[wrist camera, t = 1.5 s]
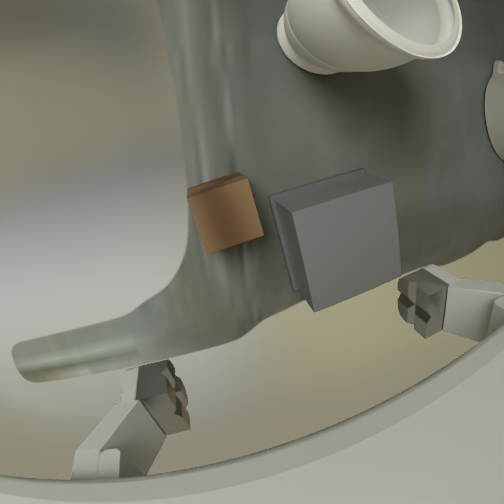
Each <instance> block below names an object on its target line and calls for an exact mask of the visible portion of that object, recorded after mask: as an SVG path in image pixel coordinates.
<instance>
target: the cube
mask: <svg viewBox="0 0 504 504" xmlns="http://www.w3.org/2000/svg"><path fill="white" fill-rule="evenodd" d="M187 199H188V202H189V205H190V208H191V211H192V214H193V217H194V220H195V222H196V225H197V228H198V231H199V234H200V236H201V239H202V242H203V245H204V248H205V250H206V253H207V255H208V254H211V253H213V252H216V251H219V250H222V249H225V248H228V247H231V246H234V245H237V244H240V243H243V242H246V241H249V240H252V239H255V238H258V237H261V236H264V234H263V230H262V227H261V223H260V219H259V216H258V212H257V209H256V205H255V202H254V198H253V195H252V192H251V188H250V185H249V181H248V178H246V177H245V176H243V175H242V174H240V173H239V172H237V173H233V174H230V175H227V176H224V177H221V178H218V179H215V180H212V181H209V182H206V183H203V184H200V185H197V186H194V187H191V188H188V189H187Z"/></svg>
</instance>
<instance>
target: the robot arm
mask: <svg viewBox="0 0 504 504" xmlns="http://www.w3.org/2000/svg"><path fill="white" fill-rule="evenodd" d="M485 118H486V124H487V129H488V134H489V137H490V140H491V143H492V145H493V147H494V149H495V151H496V153H497V154H498V156H499V157H500V158H501V159H502V160H503V161H504V62H502V61H494V65H493V74H492V77H491V79H490V80H489V82H488V85H487V88H486V94H485ZM398 290H399V291H400V293H401V294H400V296H399V298H398V309H399V312H400V315H401V317H402V318H403V319H404V320H405V321H406V322H407V323H410V324H414V329H415V330H416V331H417V332H418V333H419V334H421V335H422V336H423V337H424V338H425V339H426V338H428V337H430V336H431V335H433V334H435V333H437V332H439V331H440V330H442V329H443V331H446V332H449V333H452V334H456V335H459V336H462V337H465V338H468V339H471V340H474V341H477V342H479V343H478V344H477V345H475V346H474V347H473V348H471V349H470V350H468V351H467V352H465V353H464V354H462V355H461V356H460V357H459V358H457V359H455V360H454V361H452V362H451V363H449V364H448V365H446V366H445V367H443V368H441V369H440V370H438V371H437V372H435V373H433V374H432V375H430V376H429V377H427V378H425V379H424V380H422V381H420V382H419V383H417V384H415V385H414V386H412V387H410V388H408V389H406V390H404V391H403V392H401V393H399V394H397V395H396V396H393V397H392V398H390V399H388V400H386V401H384V402H382V403H380V404H378V405H376V406H374V407H372V408H370V409H368V410H366V411H364V412H362V413H360V414H357V415H355V416H353V417H351V418H348V419H346V420H344V421H342V422H339V423H337V424H334V425H332V426H330V427H327V428H325V429H323V430H320V431H317V432H315V433H312V434H309V435H307V436H304V437H301V438H299V439H296V440H293V441H290V442H287V443H285V444H281V445H278V446H275V447H272V448H269V449H266V450H263V451H259V452H256V453H252V454H249V455H245V456H242V457H238V458H234V459H230V460H226V461H222V462H218V463H214V464H209V465H204V466H199V467H195V468H190V469H184V470H178V471H172V472H166V473H160V474H152V475H147V473H148V471H149V469H150V467H151V465H152V463H153V461H154V460H155V458H156V456H157V454H158V452H159V450H160V448H161V446H162V444H163V442H164V440H165V439H166V435H169V434H174V433H178V432H182V431H186V430H190V419H189V413H188V412H187V410H186V407H187V405H188V398H187V394H186V390H185V387H184V385H183V383H182V381H181V379H180V378H179V377H177V376H175V368H174V366H173V364H172V363H171V361H170V360H163V361H160V362H155V363H151V364H147V365H142V366H138V367H134V368H130V369H127V370H126V371H125V374H124V380H123V386H122V392H121V399H120V404H116V405H115V406H114V407H113V408H112V409H111V411H110V412H109V413H108V414H107V415H106V416H105V418H104V419H103V420H102V421H101V422H100V423H99V425H98V426H97V427H96V428H95V429H94V430H93V432H92V433H91V434H90V435H89V436H88V437H87V439H86V440H85V441H84V442H83V443H82V444H81V445H80V447H79V448H78V449H77V450H76V452H75V458H74V463H73V469H72V475H71V480H57V479H35V478H23V477H14V476H6V475H0V504H504V283H497V282H489V281H480V280H472V279H461V280H460V279H458V278H456V277H454V276H453V275H451V274H449V273H447V272H446V271H444V270H442V269H441V268H439V267H437V266H436V265H434V264H429V265H427V266H425V267H423V268H421V269H420V270H418V271H416V272H414V273H411V274H409V275H407V276H405V277H403V278H401V279H399V282H398Z"/></svg>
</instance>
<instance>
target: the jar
mask: <svg viewBox="0 0 504 504" xmlns="http://www.w3.org/2000/svg"><path fill="white" fill-rule="evenodd" d="M461 33H462V18H461V12H460V8H459V5H458V2H457V0H288V2H287V4H286V7H285V11H284V14H283V15H282V16H281V18H280V20H279V22H278V25H277V38H278V42H279V44H280V47H281V49H282V50H283V52H284V53H285V55H286V56H287V57H288V58H289V59H290V60H291V61H292V62H293V63H294V64H296V65H297V66H299V67H300V68H302V69H304V70H306V71H309V72H312V73H316V74H324V75H326V74H334V73H337V72H371V71H380V70H385V69H390V68H393V67H397V66H400V65H402V64H405V63H407V62H410V61H412V60H414V59H434V58H440V57H444V56H446V55H448V54H450V53H451V52H452V51H453V50H454V49H455V48H456V46H457V45H458V43H459V40H460V37H461Z"/></svg>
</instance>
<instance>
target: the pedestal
mask: <svg viewBox="0 0 504 504" xmlns="http://www.w3.org/2000/svg"><path fill="white" fill-rule="evenodd" d="M268 198H269V202H270V206H271V209H272V213H273V217H274V221H275V224H276V228H277V232H278V236H279V239H280V243H281V247H282V251H283V255H284V258H285V262H286V266H287V270H288V274H289V278H290V282H291V286H292V289H293V291H296V290H299V291H300V293H301V294H302V295H303V297H304V298H305V300H306V301H307V302H308V304H309V305H310V307H311V308H312V310H313V311H314V312H317V311H320V310H322V309H325V308H327V307H330V306H332V305H335V304H337V303H339V302H342V301H344V300H347V299H349V298H352V297H354V296H356V295H359V294H361V293H363V292H366V291H368V290H370V289H373V288H375V287H377V286H380V285H382V284H384V283H386V282H389V281H391V280H393V279H395V278H398V277H400V276H401V264H400V248H399V235H398V224H397V214H396V205H395V197H394V189H393V182H392V181H390V180H386V179H382V178H379V177H375V176H371V175H368V174H366V170H365V169H364V168H361V169H357V170H353V171H350V172H346V173H343V174H339V175H336V176H332V177H329V178H325V179H322V180H318V181H315V182H312V183H308V184H305V185H302V186H298V187H295V188H292V189H288V190H285V191H282V192H279V193H275V194H272V195H269V196H268Z"/></svg>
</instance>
